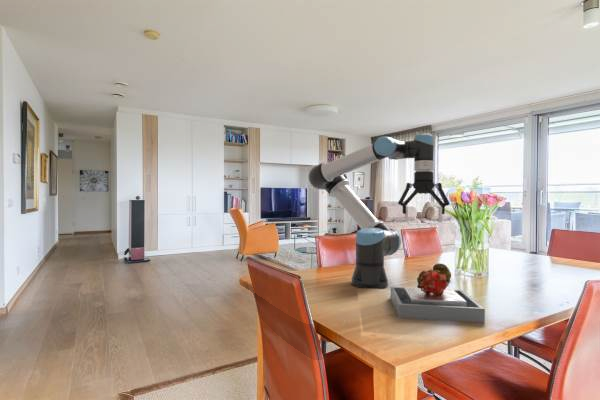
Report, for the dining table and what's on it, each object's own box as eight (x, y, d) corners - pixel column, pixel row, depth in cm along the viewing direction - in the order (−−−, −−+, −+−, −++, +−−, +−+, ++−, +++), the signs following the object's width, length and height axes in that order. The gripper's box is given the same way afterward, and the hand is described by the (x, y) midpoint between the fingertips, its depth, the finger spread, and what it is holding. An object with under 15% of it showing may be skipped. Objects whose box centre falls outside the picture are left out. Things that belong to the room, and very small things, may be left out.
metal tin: (410, 315, 103) (410, 298, 103) (403, 301, 117) (403, 286, 117) (466, 318, 101) (466, 301, 101) (452, 303, 115) (452, 288, 115)
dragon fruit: (415, 300, 107) (442, 301, 112) (434, 290, 101) (461, 291, 106) (406, 275, 112) (432, 277, 117) (424, 263, 106) (451, 266, 111)
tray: (398, 321, 101) (398, 304, 101) (390, 300, 121) (390, 286, 120) (484, 326, 97) (484, 308, 97) (461, 304, 117) (461, 290, 117)
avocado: (458, 280, 152) (459, 262, 152) (443, 284, 144) (444, 265, 144) (441, 276, 159) (441, 259, 159) (426, 280, 151) (426, 262, 151)
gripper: (394, 170, 140) (393, 222, 140) (457, 170, 136) (457, 223, 136) (391, 172, 147) (391, 220, 147) (452, 172, 144) (451, 221, 144)
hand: (423, 222), depth 142 cm, fingers open, 13 cm apart
